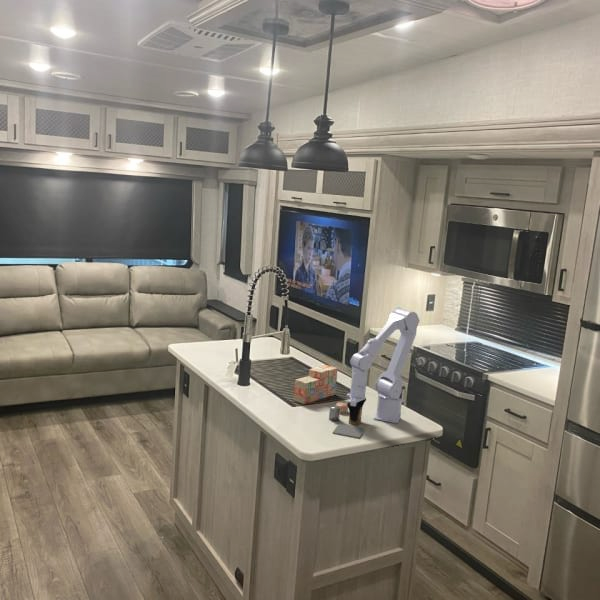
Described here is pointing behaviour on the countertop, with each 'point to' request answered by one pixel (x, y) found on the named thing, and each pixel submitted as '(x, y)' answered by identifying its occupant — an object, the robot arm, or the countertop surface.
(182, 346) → the countertop surface
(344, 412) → the peach dome knob
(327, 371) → the stack of blocks
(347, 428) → the slate mat
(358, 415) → the walnut block
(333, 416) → the shiny grey rounded piece
